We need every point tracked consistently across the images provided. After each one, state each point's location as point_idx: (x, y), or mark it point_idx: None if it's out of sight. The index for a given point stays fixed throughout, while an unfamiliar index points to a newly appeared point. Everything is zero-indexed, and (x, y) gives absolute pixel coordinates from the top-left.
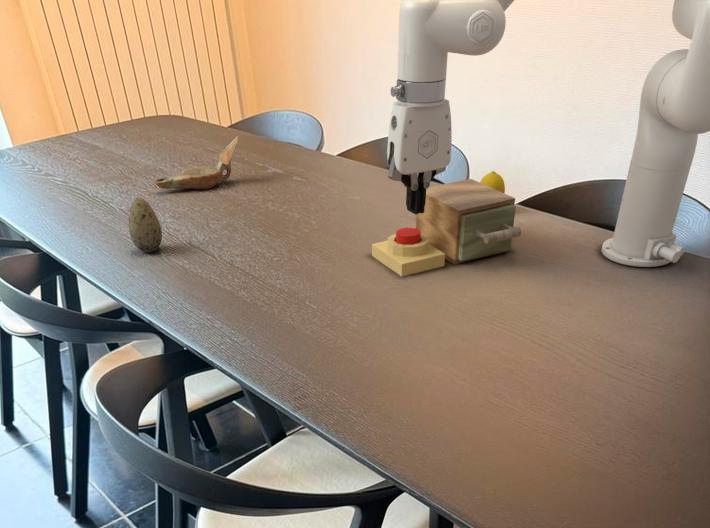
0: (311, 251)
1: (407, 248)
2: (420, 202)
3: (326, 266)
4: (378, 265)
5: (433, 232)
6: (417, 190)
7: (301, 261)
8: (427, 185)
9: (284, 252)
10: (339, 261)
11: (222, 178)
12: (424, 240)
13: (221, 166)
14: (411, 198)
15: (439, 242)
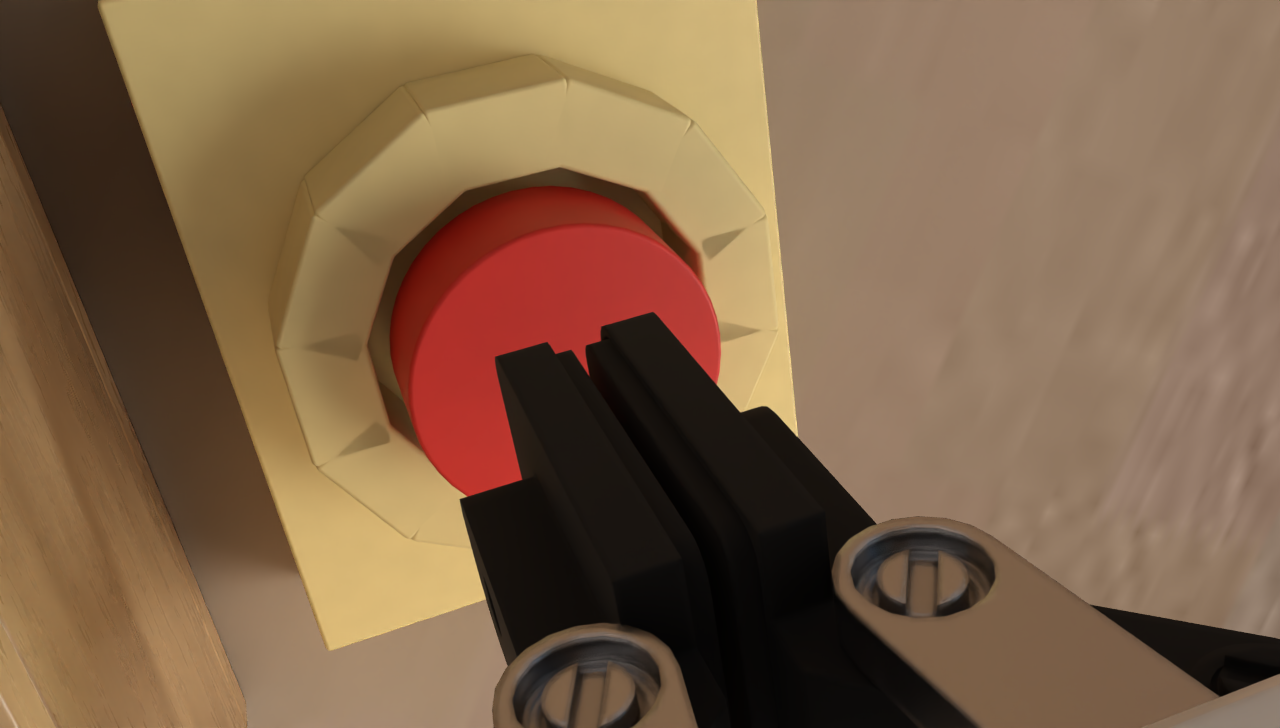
0: (1104, 603)
1: (637, 96)
2: (623, 435)
3: (1143, 316)
4: (780, 223)
5: (127, 545)
6: (810, 542)
7: (1236, 446)
8: (557, 689)
9: (1248, 611)
10: (1022, 388)
11: None
12: (358, 254)
13: None
14: (829, 482)
15: (77, 380)
